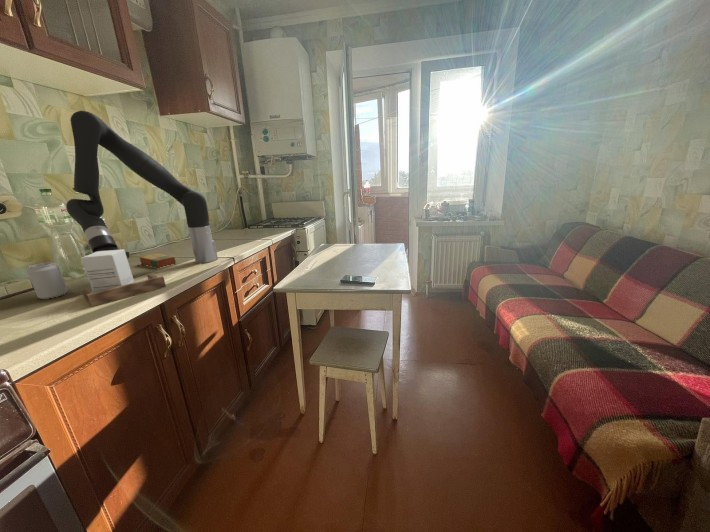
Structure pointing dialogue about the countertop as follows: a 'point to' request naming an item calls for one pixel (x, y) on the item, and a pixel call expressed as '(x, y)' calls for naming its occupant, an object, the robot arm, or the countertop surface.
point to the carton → (157, 260)
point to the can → (47, 280)
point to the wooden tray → (124, 290)
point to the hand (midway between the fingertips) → (118, 276)
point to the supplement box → (107, 269)
